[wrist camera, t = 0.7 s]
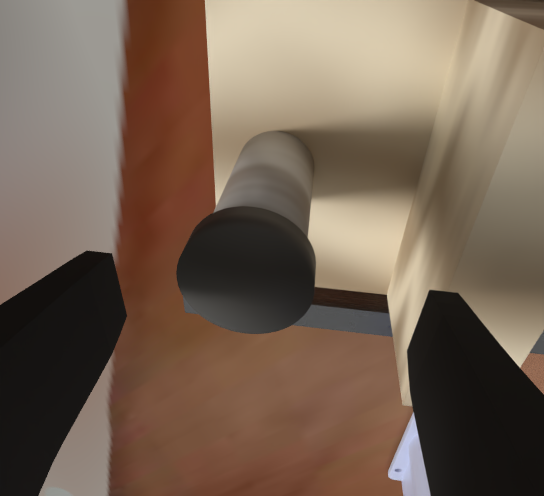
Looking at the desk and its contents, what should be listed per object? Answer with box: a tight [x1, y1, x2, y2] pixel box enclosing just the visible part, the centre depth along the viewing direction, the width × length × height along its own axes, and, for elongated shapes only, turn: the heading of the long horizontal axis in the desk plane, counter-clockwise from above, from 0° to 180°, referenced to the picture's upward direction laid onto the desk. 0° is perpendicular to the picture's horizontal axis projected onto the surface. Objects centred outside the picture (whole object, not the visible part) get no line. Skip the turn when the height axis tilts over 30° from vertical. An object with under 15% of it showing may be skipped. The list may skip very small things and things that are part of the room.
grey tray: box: [183, 287, 544, 354], centre depth 15 cm, size 18×28×4 cm, turn 88°
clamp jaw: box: [177, 0, 544, 406], centre depth 14 cm, size 12×11×8 cm
